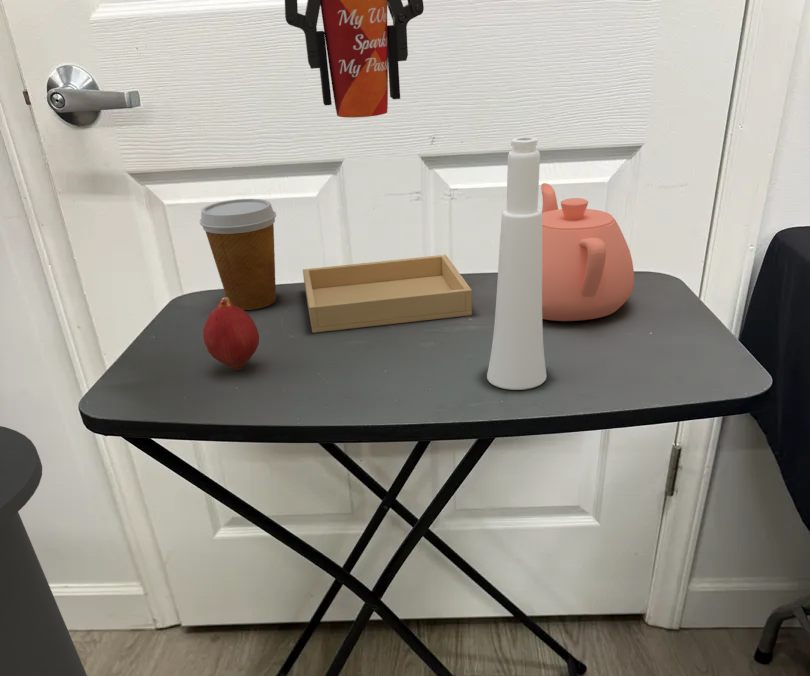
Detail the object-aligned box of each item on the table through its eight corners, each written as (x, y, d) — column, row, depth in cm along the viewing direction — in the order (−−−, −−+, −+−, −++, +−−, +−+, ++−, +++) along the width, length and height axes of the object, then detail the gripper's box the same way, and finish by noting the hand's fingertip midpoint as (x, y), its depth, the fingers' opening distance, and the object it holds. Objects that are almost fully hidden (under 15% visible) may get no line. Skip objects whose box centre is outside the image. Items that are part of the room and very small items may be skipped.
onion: (201, 369, 85) (185, 297, 81) (246, 354, 88) (233, 284, 84) (227, 384, 82) (212, 310, 77) (273, 368, 84) (261, 295, 80)
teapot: (487, 283, 104) (487, 184, 97) (595, 272, 105) (604, 174, 98) (528, 343, 86) (532, 228, 79) (658, 329, 87) (675, 215, 80)
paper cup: (354, 121, 80) (340, -50, 71) (313, 115, 85) (296, -44, 76) (412, 111, 83) (406, -52, 75) (370, 106, 88) (359, -47, 80)
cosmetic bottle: (557, 383, 77) (573, 139, 65) (503, 395, 76) (509, 148, 63) (528, 361, 82) (537, 130, 69) (476, 373, 80) (477, 138, 68)
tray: (312, 332, 93) (309, 307, 91) (305, 292, 105) (302, 269, 103) (472, 315, 94) (472, 289, 93) (446, 277, 107) (446, 254, 105)
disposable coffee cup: (264, 285, 108) (249, 194, 101) (302, 300, 102) (289, 204, 95) (203, 303, 104) (183, 208, 97) (239, 320, 98) (221, 220, 90)
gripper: (436, -189, 74) (444, 89, 87) (230, -177, 72) (270, 104, 85) (452, -205, 68) (457, 96, 81) (226, -192, 66) (270, 113, 79)
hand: (361, 100), depth 83 cm, fingers closed on paper cup, 7 cm apart
